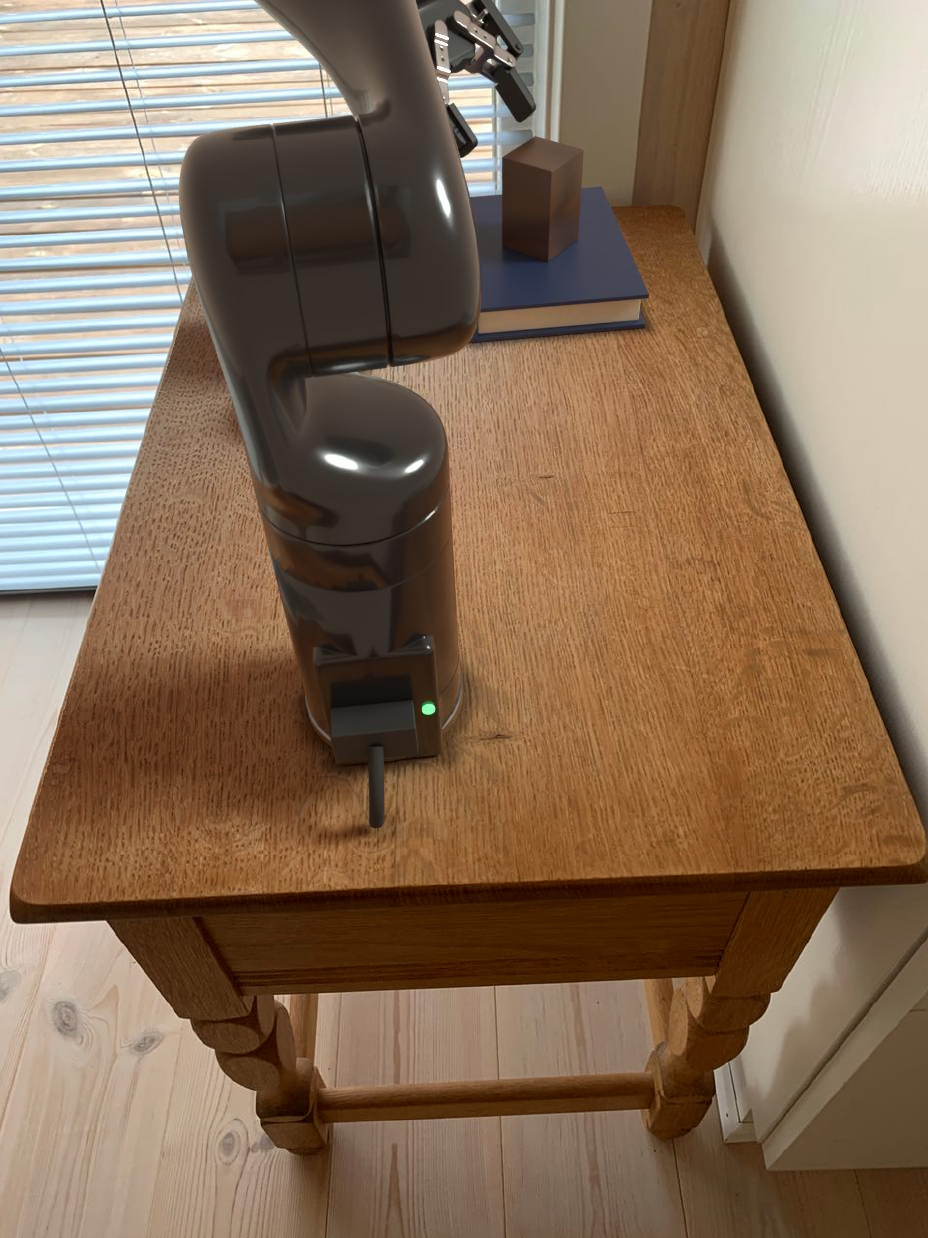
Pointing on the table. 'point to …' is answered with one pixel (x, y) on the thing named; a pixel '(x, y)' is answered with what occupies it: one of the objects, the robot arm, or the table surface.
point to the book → (557, 278)
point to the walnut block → (541, 197)
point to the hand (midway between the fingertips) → (500, 133)
